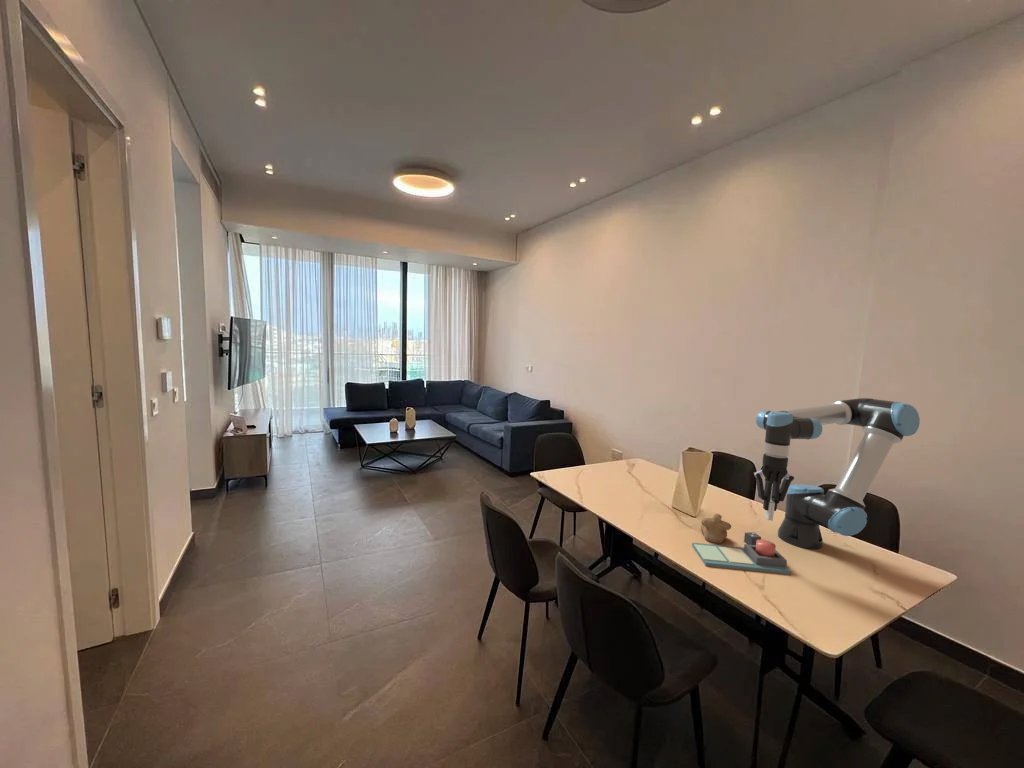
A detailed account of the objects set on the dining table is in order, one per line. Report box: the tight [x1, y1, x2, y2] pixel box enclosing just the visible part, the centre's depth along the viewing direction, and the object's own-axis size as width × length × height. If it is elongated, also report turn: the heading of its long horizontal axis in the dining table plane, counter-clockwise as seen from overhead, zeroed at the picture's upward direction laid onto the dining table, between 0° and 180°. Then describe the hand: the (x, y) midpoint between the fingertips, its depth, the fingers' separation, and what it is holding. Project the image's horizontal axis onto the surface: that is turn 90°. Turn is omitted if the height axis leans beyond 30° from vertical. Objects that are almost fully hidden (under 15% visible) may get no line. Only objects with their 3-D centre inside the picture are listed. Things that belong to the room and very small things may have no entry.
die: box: [743, 531, 762, 545], centre depth 163 cm, size 4×4×4 cm
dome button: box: [755, 539, 777, 557], centre depth 150 cm, size 6×6×4 cm
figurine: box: [700, 513, 732, 544], centre depth 165 cm, size 11×9×15 cm
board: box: [691, 542, 791, 575], centre depth 151 cm, size 28×15×4 cm, turn 83°
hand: (768, 518), depth 148 cm, fingers closed
